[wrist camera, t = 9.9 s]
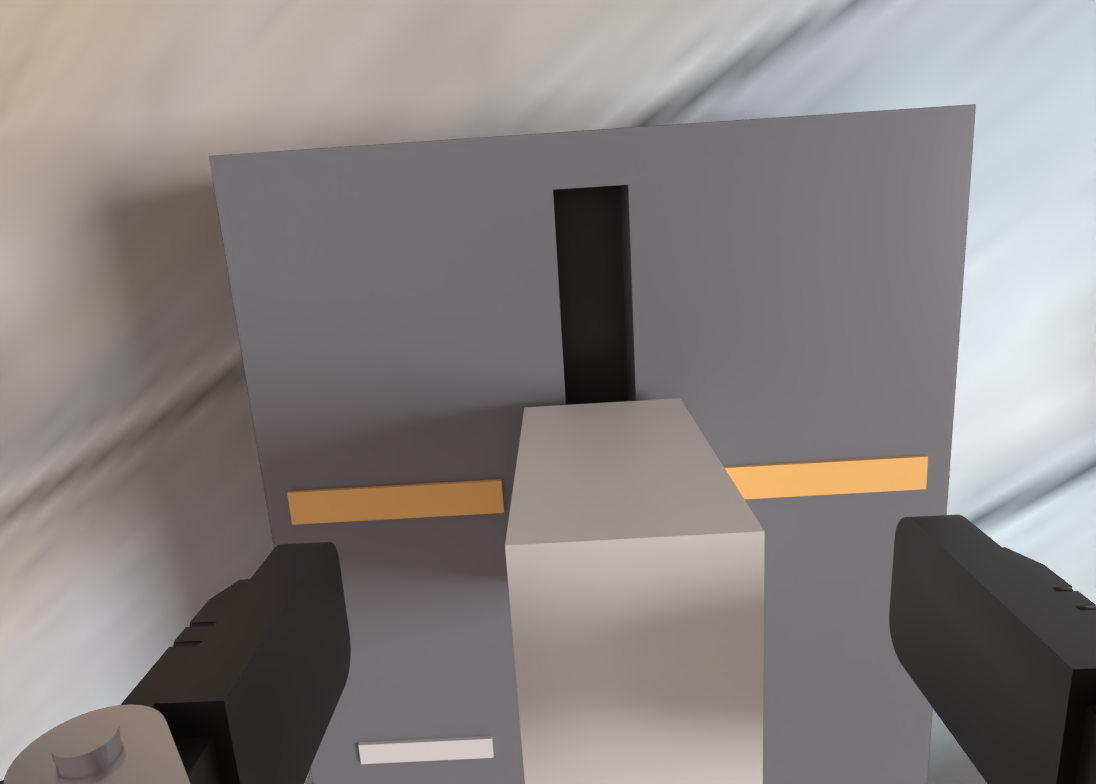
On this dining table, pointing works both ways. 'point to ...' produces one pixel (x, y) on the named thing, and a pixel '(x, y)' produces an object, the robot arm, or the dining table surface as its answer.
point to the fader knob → (633, 601)
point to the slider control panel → (605, 394)
